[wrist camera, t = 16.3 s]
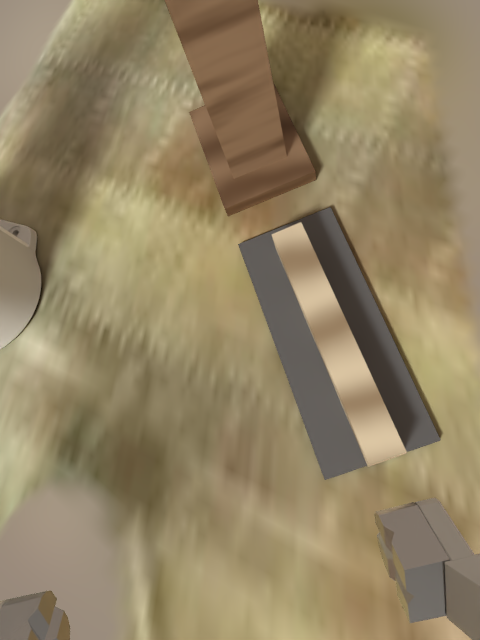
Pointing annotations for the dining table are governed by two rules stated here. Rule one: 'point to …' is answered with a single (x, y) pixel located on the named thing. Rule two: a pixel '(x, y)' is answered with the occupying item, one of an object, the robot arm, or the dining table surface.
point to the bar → (338, 348)
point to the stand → (239, 103)
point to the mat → (305, 359)
